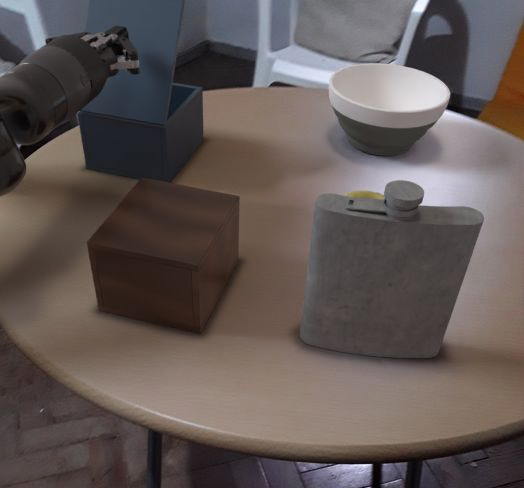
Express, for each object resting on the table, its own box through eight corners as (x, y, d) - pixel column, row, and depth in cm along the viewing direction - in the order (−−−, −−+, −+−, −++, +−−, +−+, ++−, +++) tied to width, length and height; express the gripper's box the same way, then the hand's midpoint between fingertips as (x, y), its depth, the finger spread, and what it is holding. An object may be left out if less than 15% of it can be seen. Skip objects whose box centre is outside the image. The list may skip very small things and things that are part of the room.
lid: (92, -12, 87) (90, -15, 86) (185, 0, 85) (183, -2, 84) (77, 110, 91) (75, 109, 90) (166, 126, 88) (164, 124, 88)
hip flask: (437, 340, 72) (489, 184, 58) (440, 365, 70) (496, 207, 56) (300, 325, 73) (319, 168, 59) (297, 349, 70) (317, 190, 56)
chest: (128, 126, 108) (122, 74, 101) (203, 140, 105) (202, 87, 99) (86, 169, 97) (77, 113, 90) (169, 184, 94) (165, 128, 88)
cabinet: (147, 242, 84) (141, 177, 77) (238, 261, 82) (239, 195, 75) (98, 310, 73) (86, 241, 67) (200, 333, 71) (198, 265, 65)
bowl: (423, 180, 99) (438, 122, 92) (306, 153, 104) (312, 95, 97) (445, 130, 112) (459, 76, 106) (340, 108, 117) (348, 55, 110)
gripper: (14, 104, 76) (81, 56, 88) (115, 122, 74) (170, 70, 86) (-1, 38, 71) (72, -4, 83) (107, 55, 69) (167, 10, 81)
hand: (122, 34), depth 84 cm, fingers closed
